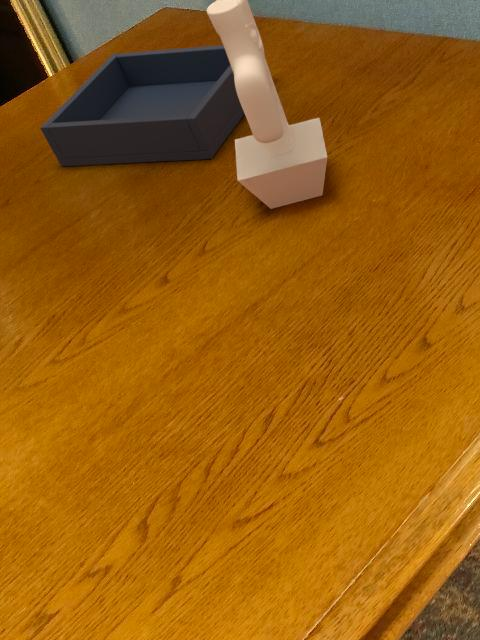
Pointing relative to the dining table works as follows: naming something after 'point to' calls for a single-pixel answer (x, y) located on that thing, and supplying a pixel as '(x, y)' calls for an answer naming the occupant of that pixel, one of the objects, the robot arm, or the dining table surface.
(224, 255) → the dining table surface
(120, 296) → the dining table surface
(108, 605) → the dining table surface
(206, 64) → the bin
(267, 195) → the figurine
